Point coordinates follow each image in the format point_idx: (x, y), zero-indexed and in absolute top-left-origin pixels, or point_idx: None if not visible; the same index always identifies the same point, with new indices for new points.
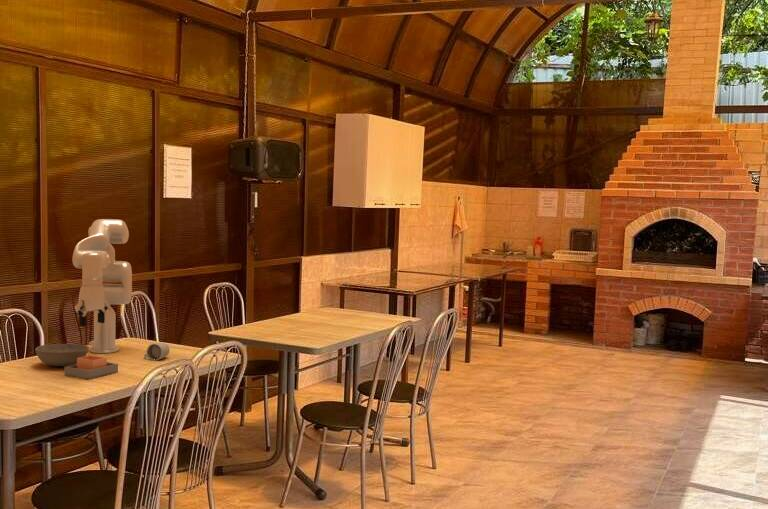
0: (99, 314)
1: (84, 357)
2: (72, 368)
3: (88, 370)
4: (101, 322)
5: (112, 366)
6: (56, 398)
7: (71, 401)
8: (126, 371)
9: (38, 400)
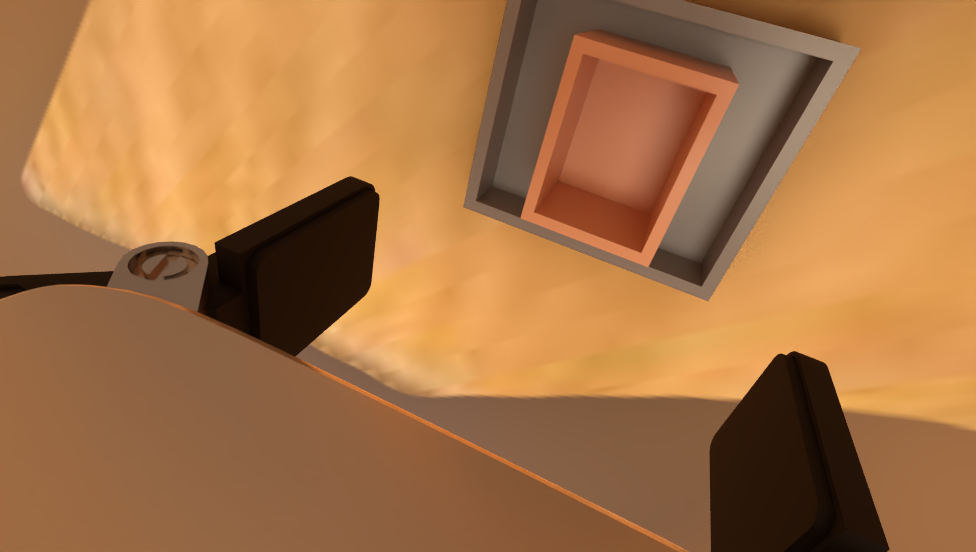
0: (774, 531)
1: (645, 72)
2: (496, 54)
3: (472, 197)
4: (729, 422)
5: (656, 277)
6: (198, 206)
7: None
8: (744, 312)
9: (150, 157)
